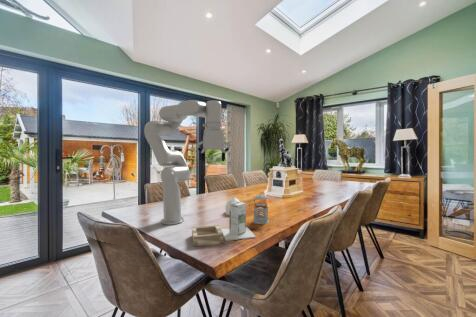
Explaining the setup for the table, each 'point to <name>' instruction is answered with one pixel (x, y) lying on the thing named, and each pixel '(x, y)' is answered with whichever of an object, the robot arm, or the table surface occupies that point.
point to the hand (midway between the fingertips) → (213, 161)
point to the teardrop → (229, 204)
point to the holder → (207, 235)
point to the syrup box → (237, 218)
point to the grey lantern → (260, 210)
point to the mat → (232, 236)
